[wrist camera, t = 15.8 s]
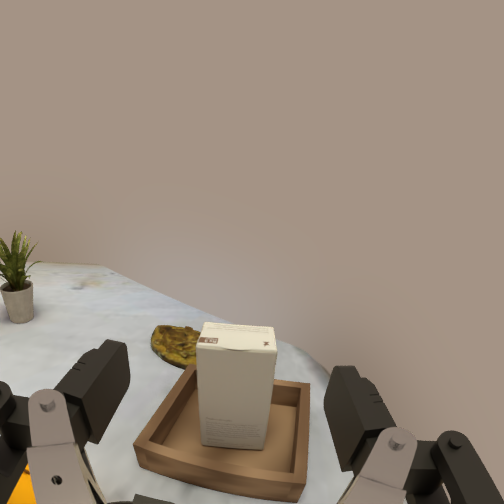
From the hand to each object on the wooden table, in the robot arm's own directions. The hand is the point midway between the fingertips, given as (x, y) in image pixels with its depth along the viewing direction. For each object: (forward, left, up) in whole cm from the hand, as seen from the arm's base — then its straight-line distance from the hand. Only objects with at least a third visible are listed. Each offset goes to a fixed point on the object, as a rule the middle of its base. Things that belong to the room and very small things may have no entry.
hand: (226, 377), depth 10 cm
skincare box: (-2, +11, -16) cm, 20 cm away
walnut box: (-2, +11, -17) cm, 20 cm away
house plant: (-46, +20, -17) cm, 53 cm away
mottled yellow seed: (-12, +27, -17) cm, 34 cm away
